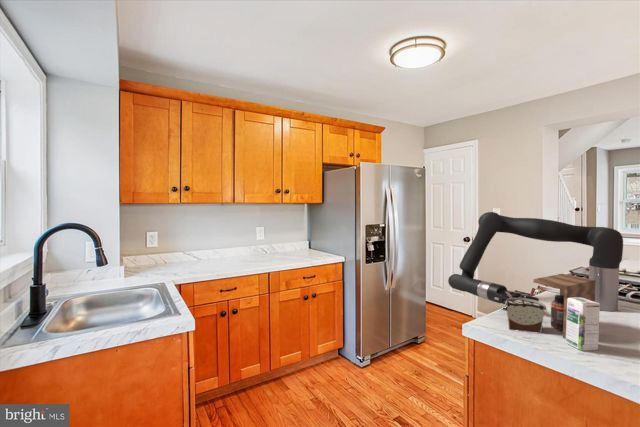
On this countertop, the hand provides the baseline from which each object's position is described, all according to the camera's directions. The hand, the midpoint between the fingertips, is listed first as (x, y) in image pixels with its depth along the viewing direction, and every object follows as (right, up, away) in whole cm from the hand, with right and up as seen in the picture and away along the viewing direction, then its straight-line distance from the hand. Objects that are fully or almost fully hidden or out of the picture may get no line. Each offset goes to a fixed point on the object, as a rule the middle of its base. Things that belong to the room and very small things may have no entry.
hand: (531, 302), depth 120 cm
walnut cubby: (+4, -6, -9) cm, 12 cm away
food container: (-9, -7, -8) cm, 14 cm away
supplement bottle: (+4, -7, -9) cm, 12 cm away
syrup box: (0, -7, -22) cm, 24 cm away
